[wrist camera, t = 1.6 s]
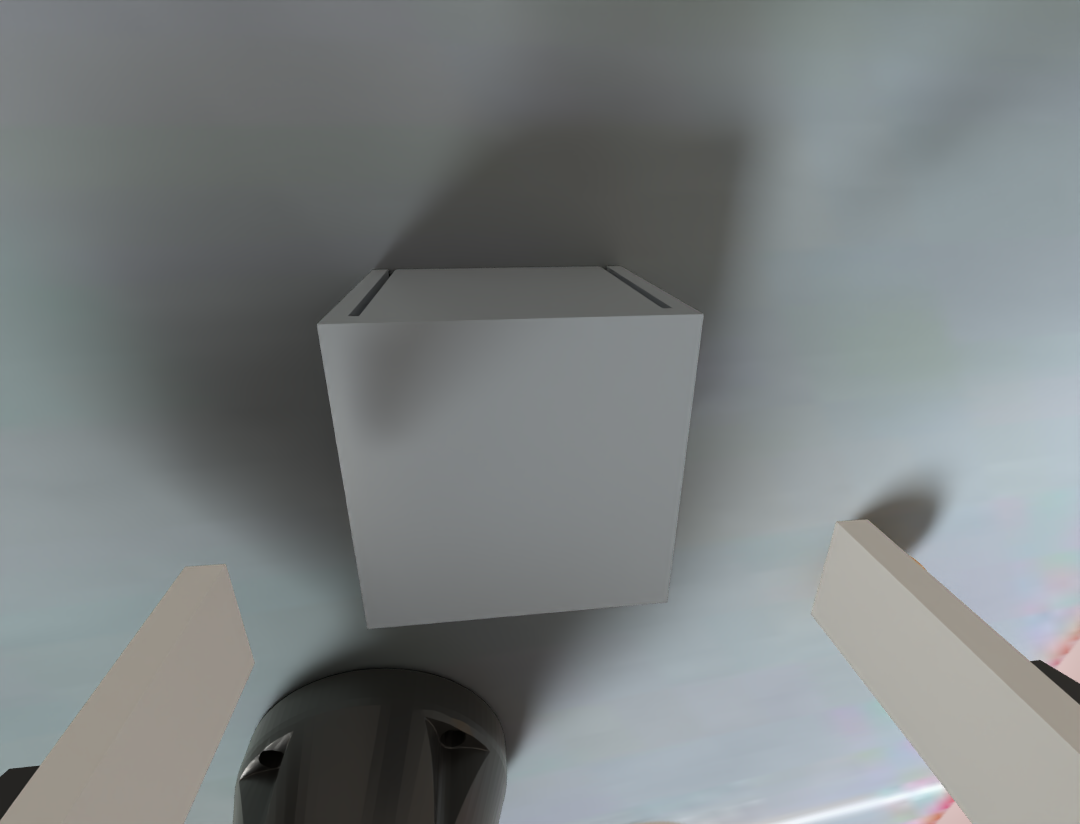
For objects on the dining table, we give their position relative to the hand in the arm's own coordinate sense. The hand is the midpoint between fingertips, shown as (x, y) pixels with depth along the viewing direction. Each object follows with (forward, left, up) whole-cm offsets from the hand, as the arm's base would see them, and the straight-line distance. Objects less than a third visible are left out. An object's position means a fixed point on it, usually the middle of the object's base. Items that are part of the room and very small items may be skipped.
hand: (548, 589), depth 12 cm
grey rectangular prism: (0, 0, -14) cm, 14 cm away
